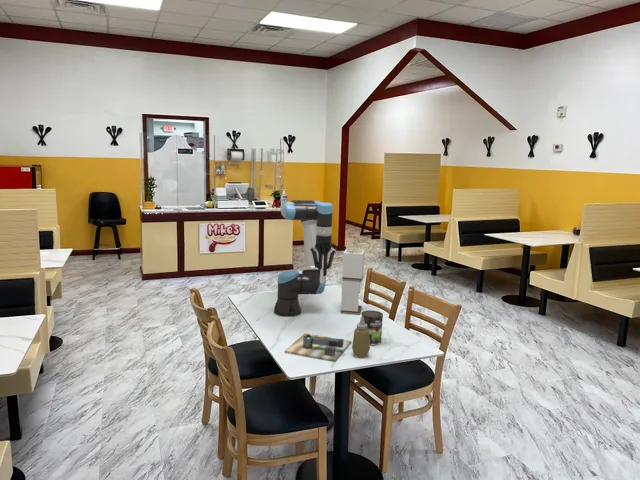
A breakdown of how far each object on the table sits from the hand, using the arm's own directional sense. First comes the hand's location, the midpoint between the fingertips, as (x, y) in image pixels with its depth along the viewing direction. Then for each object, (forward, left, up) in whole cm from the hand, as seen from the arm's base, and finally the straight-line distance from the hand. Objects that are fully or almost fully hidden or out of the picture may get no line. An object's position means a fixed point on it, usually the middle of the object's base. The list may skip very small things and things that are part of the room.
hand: (322, 282), depth 244 cm
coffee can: (+26, 0, -27) cm, 37 cm away
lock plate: (+6, -18, -26) cm, 33 cm away
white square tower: (+4, +40, -27) cm, 48 cm away
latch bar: (+9, -21, -25) cm, 34 cm away
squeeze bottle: (+26, -18, -27) cm, 41 cm away
